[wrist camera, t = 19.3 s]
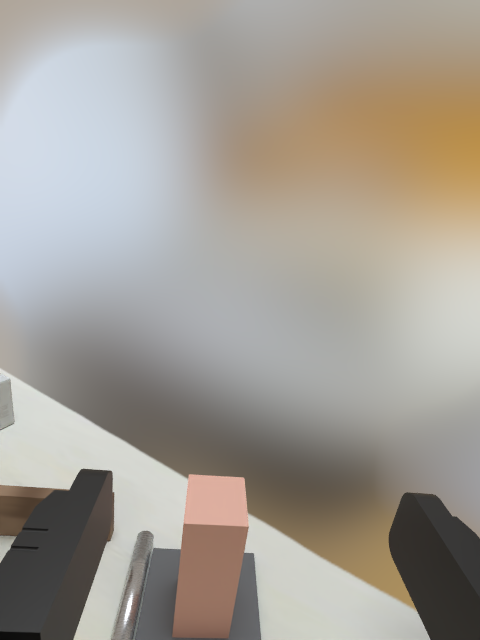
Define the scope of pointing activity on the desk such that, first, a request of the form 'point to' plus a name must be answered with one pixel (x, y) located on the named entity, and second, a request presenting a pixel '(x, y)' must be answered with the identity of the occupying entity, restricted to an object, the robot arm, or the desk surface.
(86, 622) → the desk surface
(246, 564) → the mat
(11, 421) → the product box
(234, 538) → the tall pink rectangular block
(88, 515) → the robot arm
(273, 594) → the desk surface
